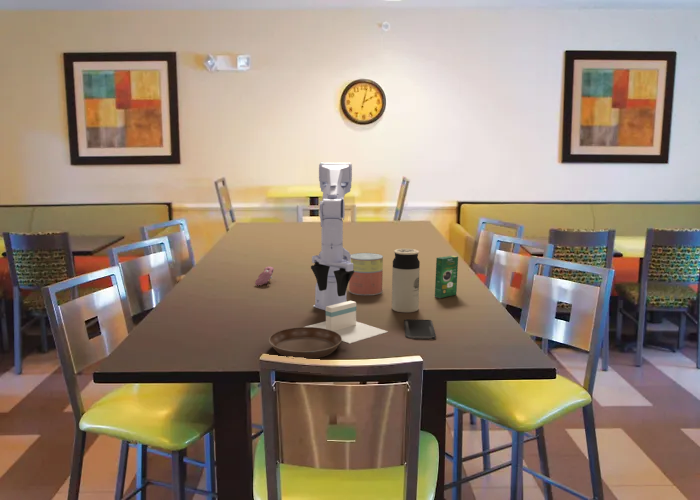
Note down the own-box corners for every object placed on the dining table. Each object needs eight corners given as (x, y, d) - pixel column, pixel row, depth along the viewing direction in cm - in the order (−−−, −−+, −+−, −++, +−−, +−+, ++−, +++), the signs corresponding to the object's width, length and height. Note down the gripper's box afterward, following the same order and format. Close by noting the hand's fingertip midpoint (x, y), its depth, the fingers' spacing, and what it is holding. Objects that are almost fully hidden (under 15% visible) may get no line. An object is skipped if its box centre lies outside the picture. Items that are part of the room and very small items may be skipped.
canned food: (389, 292, 208) (390, 257, 205) (361, 297, 201) (362, 260, 199) (369, 285, 217) (369, 251, 214) (342, 289, 210) (342, 255, 208)
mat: (304, 328, 168) (304, 326, 168) (342, 318, 178) (342, 316, 178) (349, 344, 156) (349, 343, 156) (388, 332, 165) (388, 331, 165)
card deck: (325, 329, 166) (325, 306, 165) (350, 322, 172) (350, 300, 171) (331, 331, 164) (331, 308, 163) (356, 324, 170) (356, 302, 169)
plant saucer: (350, 358, 147) (350, 346, 146) (275, 366, 142) (275, 353, 141) (331, 335, 163) (331, 324, 163) (263, 341, 158) (263, 330, 158)
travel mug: (386, 309, 187) (387, 250, 184) (402, 304, 193) (404, 247, 189) (407, 315, 181) (408, 254, 178) (423, 309, 187) (425, 250, 184)
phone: (405, 336, 160) (403, 319, 175) (405, 340, 160) (403, 322, 175) (436, 336, 160) (432, 319, 175) (436, 341, 160) (432, 323, 175)
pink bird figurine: (265, 290, 215) (274, 273, 214) (253, 284, 215) (262, 267, 214) (269, 283, 225) (277, 267, 224) (257, 278, 224) (266, 261, 223)
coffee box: (450, 293, 207) (452, 254, 204) (457, 295, 205) (458, 255, 202) (434, 297, 202) (435, 257, 199) (440, 298, 200) (442, 258, 197)
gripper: (303, 241, 169) (303, 290, 172) (339, 249, 159) (339, 300, 161) (322, 238, 174) (322, 286, 176) (359, 245, 164) (358, 295, 166)
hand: (332, 292), depth 169 cm, fingers open, 7 cm apart
